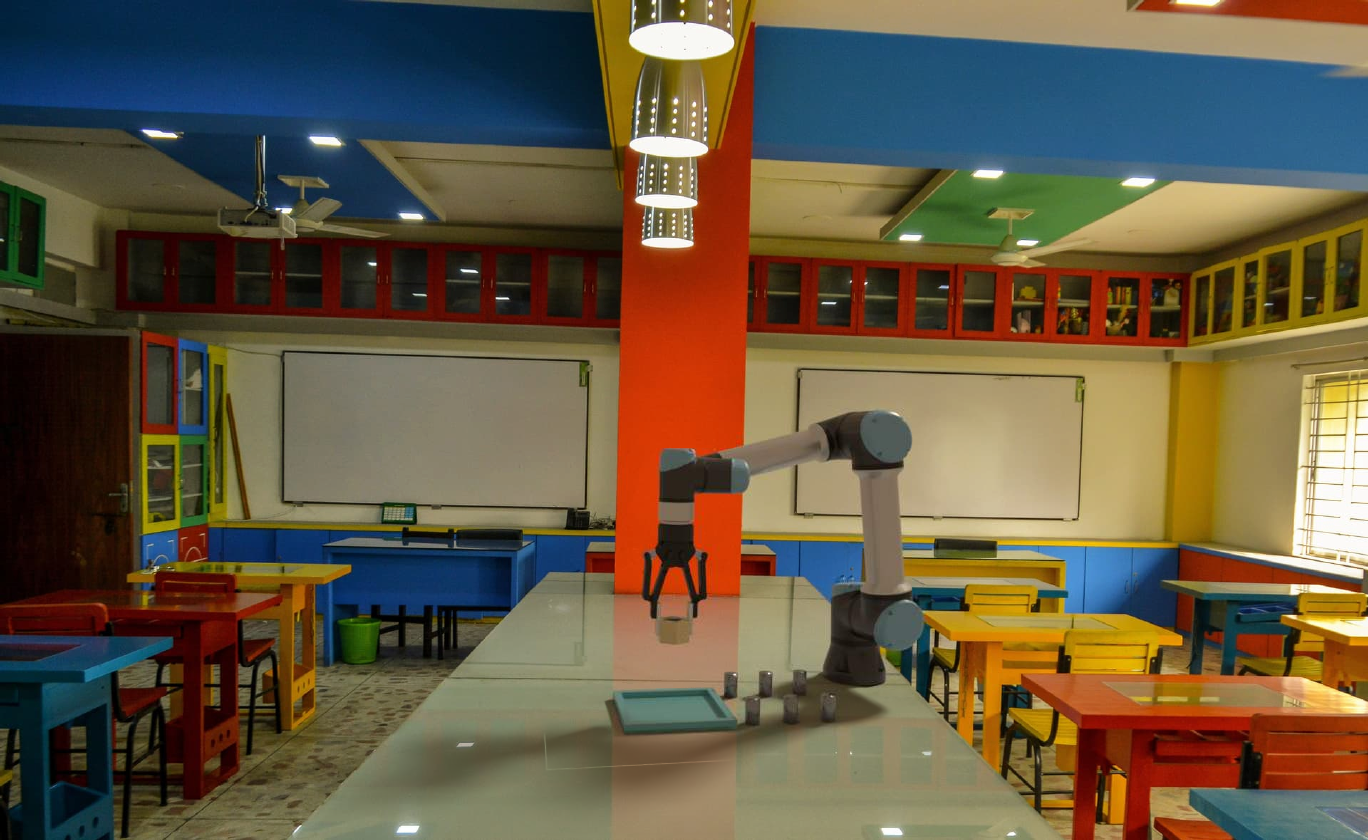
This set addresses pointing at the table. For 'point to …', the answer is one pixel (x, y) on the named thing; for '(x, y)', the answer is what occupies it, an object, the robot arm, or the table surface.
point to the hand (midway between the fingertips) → (673, 633)
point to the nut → (674, 630)
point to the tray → (672, 710)
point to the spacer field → (788, 700)
